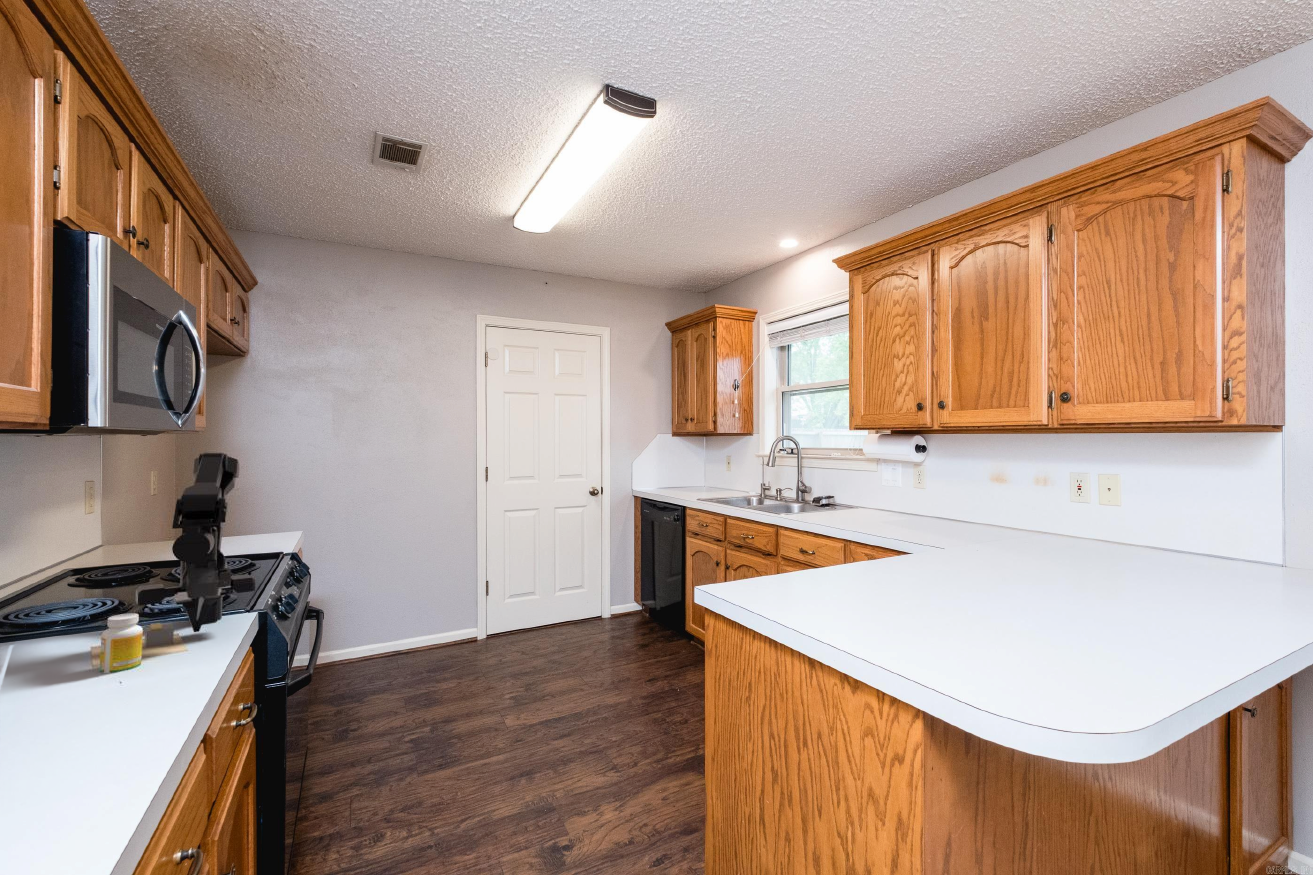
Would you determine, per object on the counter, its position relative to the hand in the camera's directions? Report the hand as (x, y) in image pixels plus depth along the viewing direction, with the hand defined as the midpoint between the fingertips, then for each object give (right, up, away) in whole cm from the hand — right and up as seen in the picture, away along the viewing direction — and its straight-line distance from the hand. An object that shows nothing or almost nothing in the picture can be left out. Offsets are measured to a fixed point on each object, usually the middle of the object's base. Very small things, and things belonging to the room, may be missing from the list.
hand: (196, 631), depth 119 cm
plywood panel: (-5, -2, -8) cm, 9 cm away
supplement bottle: (0, -2, -17) cm, 17 cm away
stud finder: (-4, -1, -4) cm, 6 cm away
